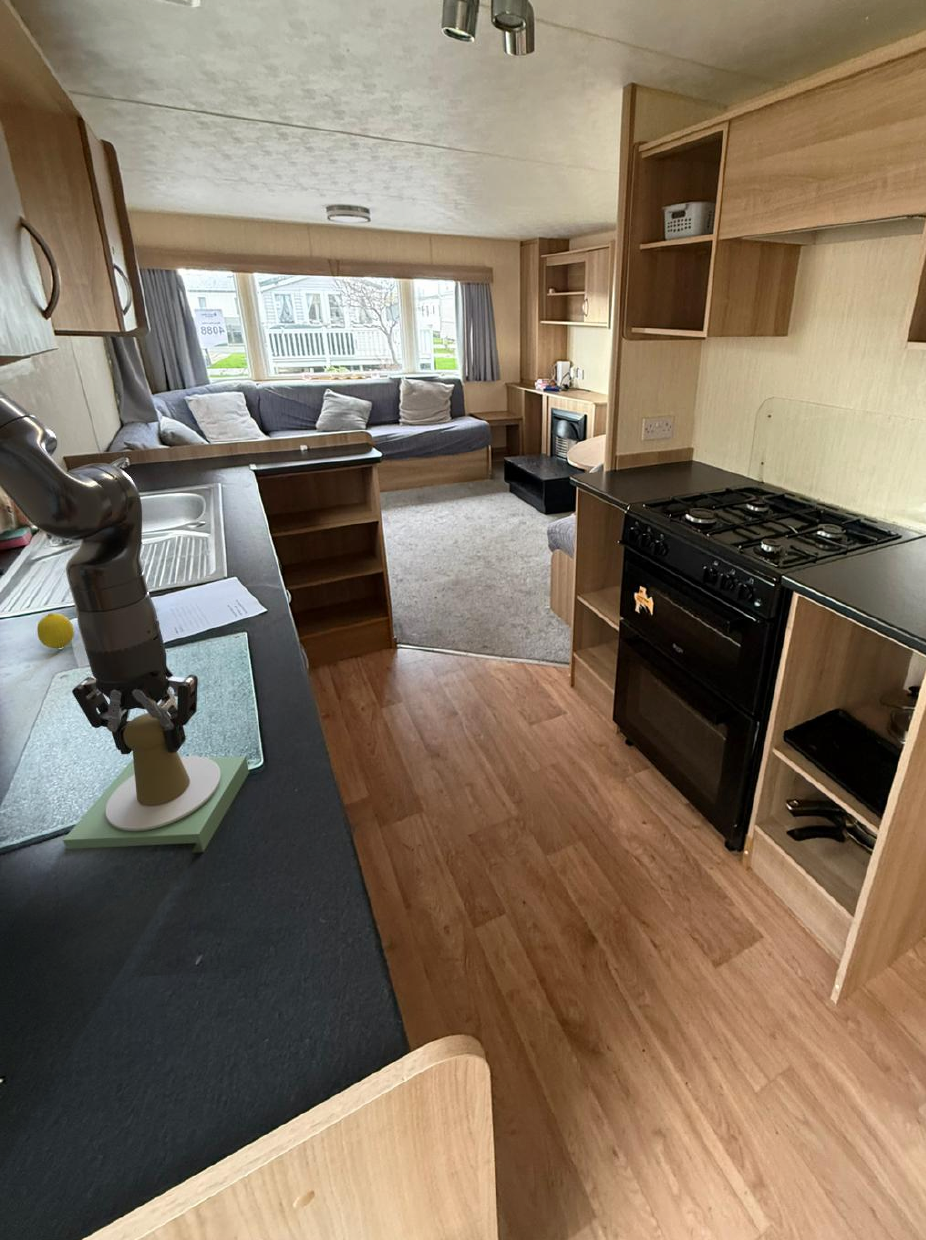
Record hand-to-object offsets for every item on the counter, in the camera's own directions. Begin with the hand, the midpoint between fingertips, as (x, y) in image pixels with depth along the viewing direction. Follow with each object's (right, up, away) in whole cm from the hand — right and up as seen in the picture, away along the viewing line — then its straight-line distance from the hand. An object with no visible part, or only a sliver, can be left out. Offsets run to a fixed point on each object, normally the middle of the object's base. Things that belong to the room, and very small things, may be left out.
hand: (153, 749), depth 76 cm
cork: (0, -6, +2) cm, 7 cm away
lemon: (-47, +5, +43) cm, 64 cm away
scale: (0, -10, +4) cm, 10 cm away
